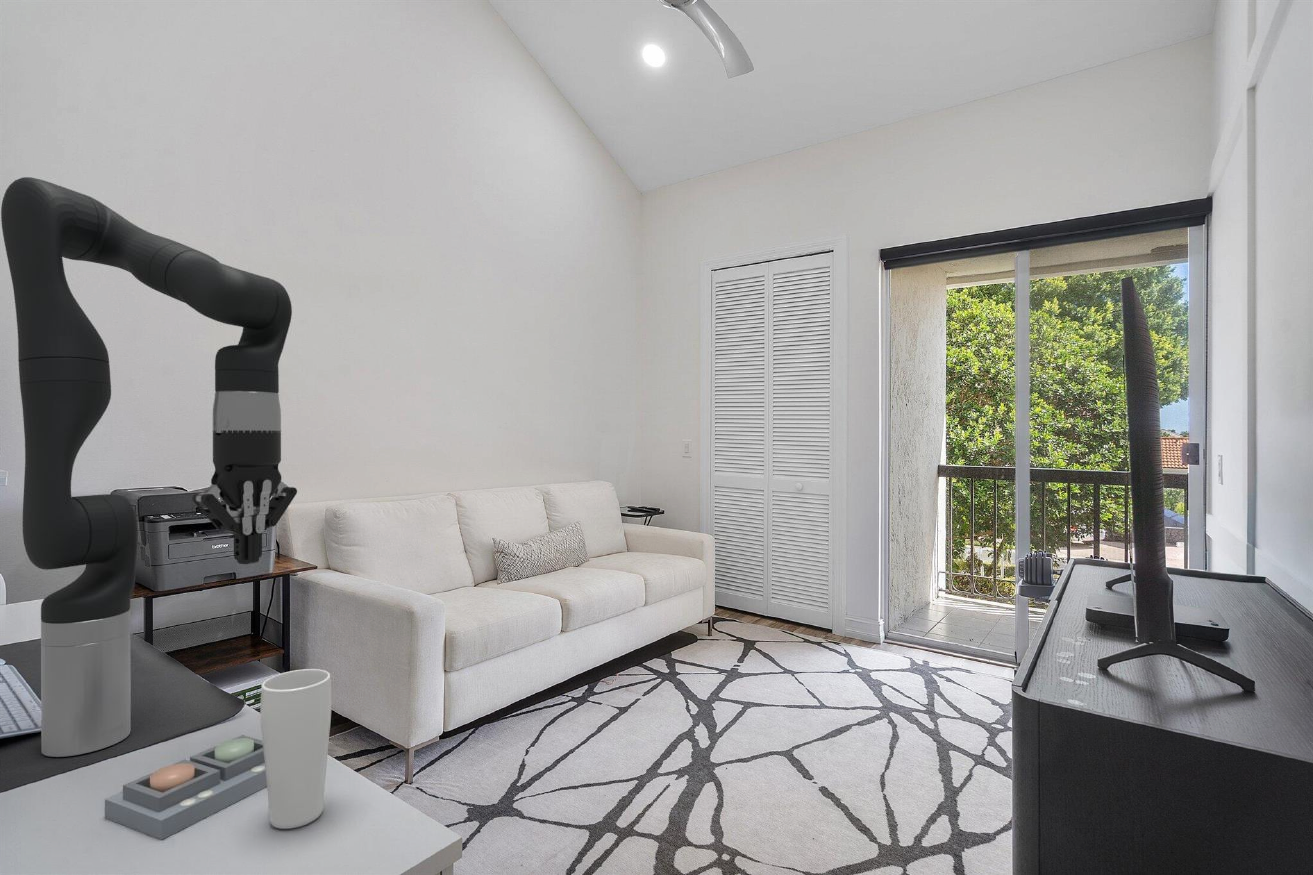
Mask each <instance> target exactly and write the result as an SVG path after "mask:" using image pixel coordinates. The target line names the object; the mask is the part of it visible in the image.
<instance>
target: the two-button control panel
mask: <svg viewBox="0 0 1313 875" xmlns="http://www.w3.org/2000/svg"><path fill="white" fill-rule="evenodd" d="M239 738H250V739H252V740H254V752H252V753H250V754H248V755H246V756H243V757H241V758H239V759H237V760H235V761H232V762H230V763H224V762H221V761H218V760H215V748H216V747H217V746H218V745H215V746H214V747H210V748H209V749H206V750H203V751H201V752H199V753H197V754H195V755H191V756H190V757H189V760H188V759H182V760H180V761H177V762H175V763H172V765H174V764H181V763H189V764H193V765H194V775H195V778H194V779H192V780H190V781H188V782H186V783H183V784H181V785H179V786H177V787H174V788H172V789H170V790H168V791H166V792H163V793H162V792H159V791H156V790H153V789H150V776H151V775H152V774H153V773H154V772H155V771H154V772H151V773H149V774H147V775H144V776H142V777H139V778H137V779H134V780H132V781H130V782H128V783H125V784H123V785H122V791H120V792H118V793H115V794H114V795H111V796H109V797H106V798H105V799H104V818H105V819H108V820H110V821H112V822H115V823H117V824H120V825H122V826H125V827H127V828H129V829H133V830H135V831H138V832H140V833H143V834H145V835H148V836H150V837H153V838H156V839H157V840H161V841H163V840H164V839H166V838H168V837H170V836H173V835H174V834H176V833H179V832H180V831H182V830H184V829H186V828H188V827H189V826H192V825H194V824H196V823H197V822H200V821H202V820H204V819H206V818H207V817H208V818H209V816H211V815H213V814H215V813H218V812H220V811H221V810H224V809H226V808H228V807H229V806H231V805H233V804H235V803H237V802H240V801H241V800H243V799H245V798H247V797H249V796H251V795H253V794H255V793H257V792H259V791H261V790H262V789H265V788H267V782H266V771H265V762H264V752H263V742H262V739H259V738H255V737H252V736H251V737H250V736H247V735H239V736H237V737H234V738H232V739H231V740H233V739H239Z"/></svg>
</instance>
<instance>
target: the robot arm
mask: <svg viewBox="0 0 1313 875" xmlns="http://www.w3.org/2000/svg"><path fill="white" fill-rule="evenodd" d="M0 208H1V210H0V216H1V217H0V219H1V220H0V221H1V229H2V238H3V242H4V247H5V252H6V257H7V258H6V259H7V262H8V267H9V268H8V269H9V272H10V273H9V274H10V277H11V283H12V290H13V297H14V306H15V315H16V318H15V319H16V327H17V344H18V345H17V346H18V347H17V348H18V349H17V352H18V354H17V355H18V356H17V358H18V376H19V377H18V378H19V389H20V397H21V398H20V399H21V407H22V418H23V419H22V420H23V433H24V434H23V435H24V476H23V478H24V479H23V480H24V481H23V498H22V499H23V502H22V539H23V540H22V541H23V545H24V549H25V552H26V555H27V557H28V559H29V561H30V562H31V563H32V565H33V566H34V567H37V568H38V569H41V570H45V571H48V570H57V569H64V568H71V567H78V566H85V568H84V569H83V572H82V573H81V574H80V575H79V576H78V577H77V578H76V579H75V580H73V581H72V582H70V583H69V584H68V585H66V586H64V587H62V588H60V589H58V590H57V591H55V592H52V593H50V594H48V595H47V596H46V597H45V598H44V599H43V600H42V602H41V604H40V605H41V606H40V659H41V660H40V665H41V666H40V668H41V669H40V673H41V674H40V679H41V680H40V684H41V685H40V690H41V691H40V692H41V693H40V695H41V696H40V699H41V702H40V704H41V707H40V708H41V711H40V713H41V714H40V715H41V716H40V717H41V720H40V721H41V722H40V723H41V724H40V726H41V728H40V729H41V730H40V731H41V734H40V737H41V740H40V741H41V745H40V747H41V754H42V755H44V756H47V757H52V758H53V757H54V758H55V757H56V758H59V757H60V758H61V757H63V758H64V757H72V756H78V755H83V754H87V753H88V754H89V753H92V752H96V751H99V750H102V749H105V748H108V747H110V746H114V745H115V744H118V743H119V742H121V741H123V740H125V739H126V738H127V737H128V736H129V735H130V733H131V728H132V727H131V720H132V719H131V710H132V709H131V703H132V700H131V698H132V696H131V694H132V693H131V682H132V678H131V676H132V675H131V674H132V673H131V598H132V595H133V592H134V589H135V584H136V569H137V554H138V536H139V528H138V525H139V524H138V518H137V513H136V511H135V509H134V508H135V507H134V506H133V504H132V503H131V501H129V499H128V498H126V497H125V496H123V495H121V494H117V493H115V494H114V493H113V494H112V493H111V494H110V493H109V494H92V495H91V494H90V495H80V496H79V495H78V496H77V495H76V496H72V476H73V471H74V470H73V469H74V464H75V462H76V459H77V455H78V454H79V452H80V450H81V448H82V447H83V445H84V443H85V442H86V440H87V439H88V438H89V436H90V435H91V433H92V432H93V430H94V429H95V427H96V426H97V425H98V423H99V422H100V420H101V419H102V417H103V415H104V414H105V412H106V410H107V409H108V406H109V405H110V401H111V399H112V383H111V382H112V381H111V368H110V358H109V351H108V349H107V346H106V344H105V342H104V340H103V338H102V336H101V335H100V334H99V332H98V330H97V329H96V327H95V326H94V324H93V323H92V321H91V320H90V319H89V317H88V316H87V315H86V313H85V311H84V310H83V309H82V307H81V306H80V304H79V303H78V301H77V299H76V298H75V296H74V294H73V293H72V291H71V289H70V287H69V284H68V281H67V278H66V274H65V267H64V266H65V265H64V260H63V258H65V259H68V260H72V261H73V260H74V261H78V262H79V261H80V262H81V261H82V262H89V263H95V264H99V265H103V266H109V267H115V268H118V269H121V270H124V271H126V272H129V273H130V274H132V275H133V277H134V278H135V279H136V280H137V281H139V282H140V283H142V284H143V285H145V286H147V287H148V288H150V289H153V290H154V291H157V292H159V293H161V294H163V295H165V296H168V297H170V298H172V299H174V300H177V301H179V302H182V303H184V304H186V305H187V306H188V307H190V308H192V309H193V310H194V311H195V312H198V313H199V314H200V315H202V316H204V317H206V318H208V319H211V320H214V321H215V322H219V323H222V324H224V325H225V324H226V325H228V326H236V327H241V328H242V332H241V336H240V339H239V341H238V343H237V344H231V345H226V346H223V347H221V348H219V349H218V350H217V352H216V354H215V357H214V358H215V359H214V399H213V405H212V406H213V407H212V463H213V467H214V472H213V475H212V476H211V479H210V483H211V484H210V485H209V486H208V487H207V488H206V489H204V491H203V492H201V493H198V492H197V493H194V494H193V495H192V498H191V499H192V502H193V503H194V504H195V505H196V506H197V508H198V509H199V510H200V511H201V512H202V513H203V514H204V515H205V516H206V518H207V520H208V521H209V522H211V523H212V524H213V525H212V526H214V527H215V528H216V530H218V531H219V532H228V533H229V534H232V536H233V557H234V560H236V562H237V563H238V564H239V565H240V564H241V565H251V564H256V563H259V561H260V558H261V557H262V555H263V532H264V531H265V530H266V529H270V527H275V526H277V525H278V523H279V521H280V520H281V519H282V517H283V515H284V514H285V512H286V510H287V509H288V507H289V506H290V504H291V503H292V502H293V501H294V500H293V499H294V498H295V497H296V495H298V494H297V493H298V490H297V488H296V487H293V486H288V485H287V484H285V483H284V482H283V481H282V475H281V472H280V470H279V464H280V463H281V461H282V410H281V404H280V397H279V396H280V395H279V391H280V385H279V384H280V383H279V382H280V381H279V378H280V375H279V374H280V372H279V362H280V360H281V359H280V358H281V355H282V354H283V350H284V347H285V343H286V339H287V335H288V332H289V328H290V325H291V322H292V316H293V315H292V314H293V309H292V301H291V297H290V295H289V293H288V291H287V290H286V288H285V286H284V285H282V283H280V282H279V281H276V280H275V279H272V278H270V277H265V276H263V275H260V274H256V273H252V272H250V271H245V270H242V269H239V268H236V267H232V266H230V265H226V264H224V263H222V262H220V261H218V260H217V259H216V258H214V257H213V256H210V255H209V254H207V253H204V252H203V251H201V250H197V249H195V248H192V247H190V246H188V245H186V244H184V243H182V242H181V243H180V242H177V241H175V240H173V239H170V238H167V237H165V236H160V235H158V234H157V235H156V234H154V233H151V232H149V231H147V230H145V229H142V228H141V227H139V226H138V225H136V224H134V223H132V222H130V221H129V220H128V219H126V218H125V217H123V216H122V215H121V214H119V213H117V212H116V211H115V210H113V209H111V207H108V206H107V205H106V204H104V203H102V202H101V201H99V200H97V199H96V198H94V197H92V196H89V195H86V194H84V193H81V192H78V191H75V190H73V189H70V188H68V187H67V188H66V187H64V186H61V185H58V184H55V183H53V182H49V181H46V180H44V179H40V178H36V177H30V176H29V177H28V176H27V177H26V176H24V177H20V178H17V179H15V180H13V182H12V183H10V184H9V185H8V187H7V188H6V189H5V193H4V194H3V197H2V201H1V207H0ZM222 502H224V503H225V506H223V504H222ZM225 507H226V508H225Z"/></svg>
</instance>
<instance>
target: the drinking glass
mask: <svg viewBox="0 0 1313 875" xmlns="http://www.w3.org/2000/svg"><path fill="white" fill-rule="evenodd" d="M260 688H261V689H260V690H261V691H260V730H261V740H262V742H263V752H264V762H265V771H266V782H267V787H266V788H267V791H266V792H267V803H268V821H269V824H270V825H271V826H272V827H274V828H277V829H281V830H289V829H297V828H301V827H303V826H306V825H308V824H311V822H314V821H315V820H317V819H318V818H319V817H320V816H321V815H322V813H323V812H324V809H325V800H326V799H325V797H326V796H325V792H326V791H325V790H326V778H327V765H328V763H327V762H328V754H329V752H328V751H329V742H330V731H331V720H332V719H331V718H332V682H331V673H330V672H328V671H327V670H324V669H318V668H306V669H304V668H303V669H296V670H295V669H294V670H290V671H286V672H281V673H278V674H275V675H273V676H270V677H269V678H267V679H265V680H264V681H263V682H262V684H261V687H260Z"/></svg>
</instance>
